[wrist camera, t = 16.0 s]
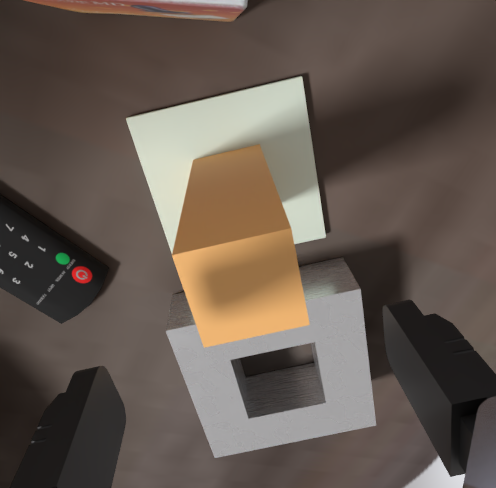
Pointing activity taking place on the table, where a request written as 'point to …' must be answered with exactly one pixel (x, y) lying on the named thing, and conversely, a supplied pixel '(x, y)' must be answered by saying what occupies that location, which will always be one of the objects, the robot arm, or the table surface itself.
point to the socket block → (282, 371)
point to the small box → (156, 8)
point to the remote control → (45, 266)
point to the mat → (232, 138)
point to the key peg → (237, 250)
